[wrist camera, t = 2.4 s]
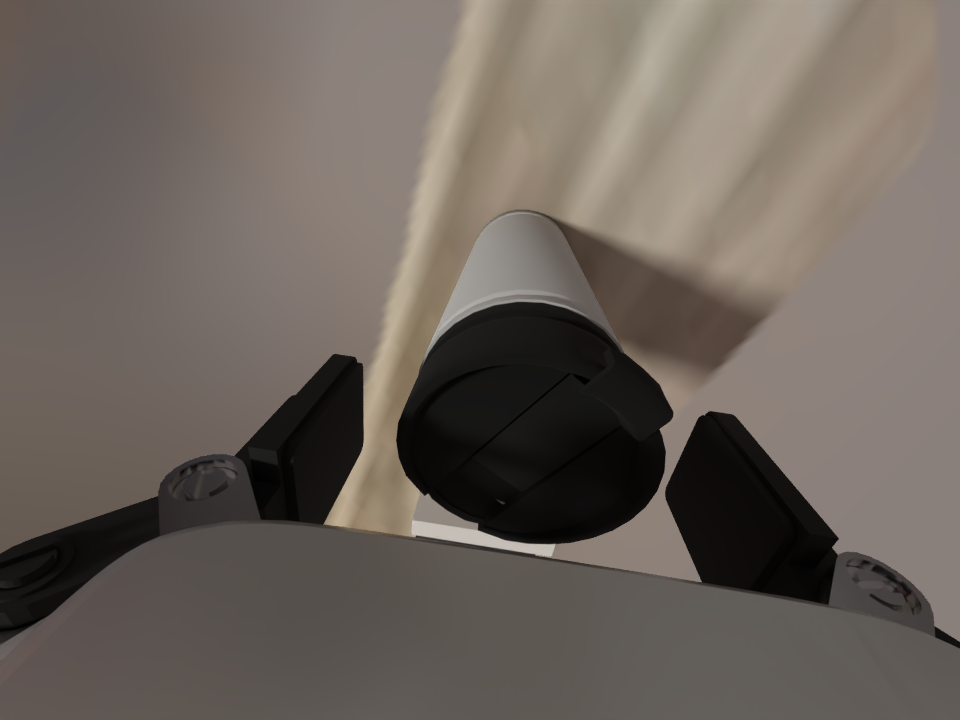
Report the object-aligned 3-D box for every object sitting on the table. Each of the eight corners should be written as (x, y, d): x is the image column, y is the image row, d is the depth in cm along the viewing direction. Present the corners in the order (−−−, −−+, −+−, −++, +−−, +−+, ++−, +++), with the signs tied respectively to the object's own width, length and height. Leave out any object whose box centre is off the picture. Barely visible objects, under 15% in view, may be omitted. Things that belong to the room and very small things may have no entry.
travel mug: (593, 250, 26) (754, 476, 8) (522, 321, 28) (529, 606, 11) (521, 181, 24) (528, 276, 7) (454, 263, 27) (331, 486, 9)
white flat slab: (442, 413, 31) (412, 520, 22) (558, 431, 31) (574, 545, 22) (441, 426, 32) (411, 534, 23) (554, 443, 31) (569, 559, 23)
